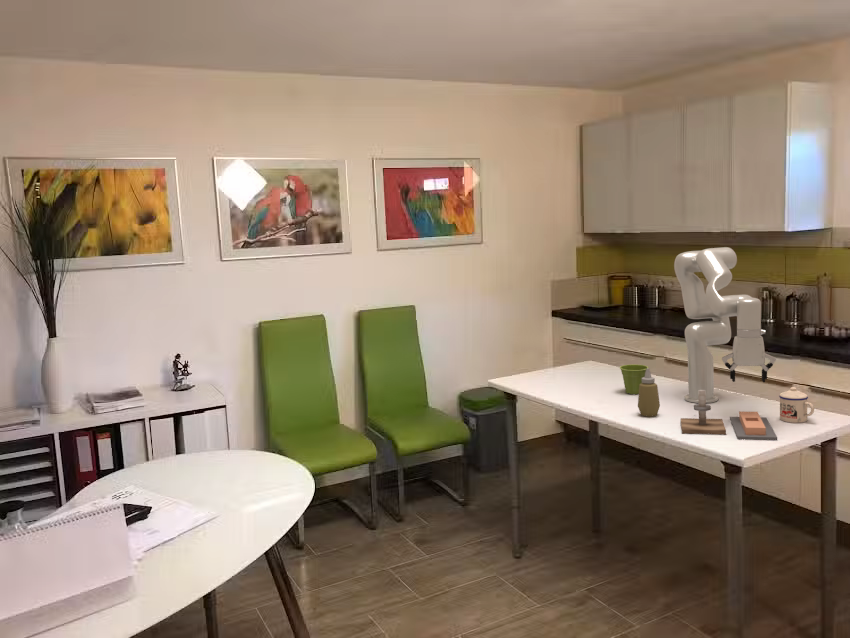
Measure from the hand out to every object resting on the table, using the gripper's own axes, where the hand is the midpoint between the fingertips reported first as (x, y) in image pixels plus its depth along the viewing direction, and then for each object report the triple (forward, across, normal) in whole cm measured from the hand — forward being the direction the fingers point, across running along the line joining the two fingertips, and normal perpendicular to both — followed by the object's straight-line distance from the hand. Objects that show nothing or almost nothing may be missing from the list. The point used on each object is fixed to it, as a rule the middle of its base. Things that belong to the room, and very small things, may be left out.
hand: (748, 381), depth 250 cm
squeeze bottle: (+16, +34, -8) cm, 38 cm away
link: (+14, 0, +8) cm, 16 cm away
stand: (+15, +16, +8) cm, 23 cm away
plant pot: (+17, +40, -43) cm, 61 cm away
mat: (+15, 0, +8) cm, 17 cm away
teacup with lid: (+15, -16, -4) cm, 23 cm away
